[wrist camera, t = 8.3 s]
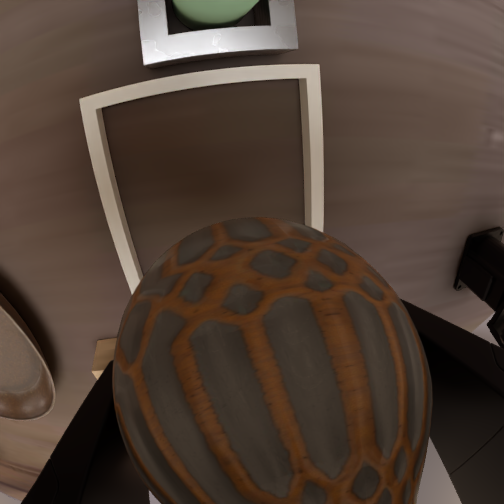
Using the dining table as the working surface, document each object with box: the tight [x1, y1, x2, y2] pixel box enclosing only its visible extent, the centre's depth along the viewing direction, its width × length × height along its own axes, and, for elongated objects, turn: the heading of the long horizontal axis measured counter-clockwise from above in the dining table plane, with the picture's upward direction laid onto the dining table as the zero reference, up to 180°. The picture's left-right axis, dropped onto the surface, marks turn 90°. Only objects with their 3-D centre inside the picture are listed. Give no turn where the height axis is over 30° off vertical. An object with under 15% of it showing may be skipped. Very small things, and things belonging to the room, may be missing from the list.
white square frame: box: [79, 64, 324, 295], centre depth 17 cm, size 13×13×1 cm
